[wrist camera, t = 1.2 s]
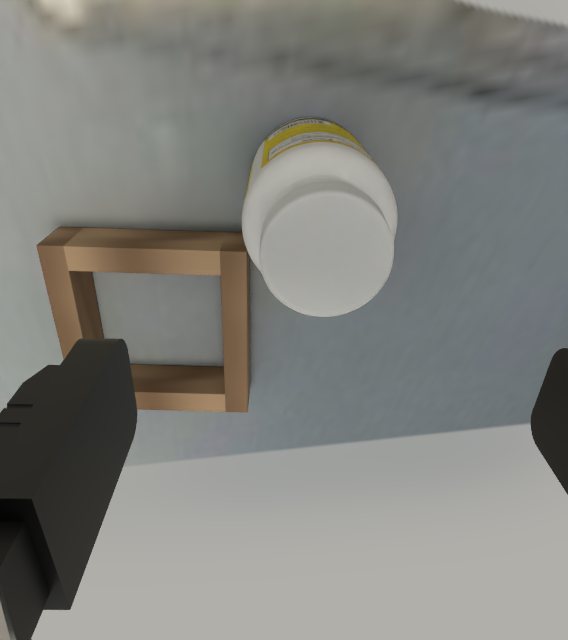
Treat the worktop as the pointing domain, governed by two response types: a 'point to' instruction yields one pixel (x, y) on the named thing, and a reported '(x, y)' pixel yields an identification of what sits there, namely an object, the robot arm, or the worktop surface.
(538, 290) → the worktop surface
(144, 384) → the wooden frame
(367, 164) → the supplement bottle
